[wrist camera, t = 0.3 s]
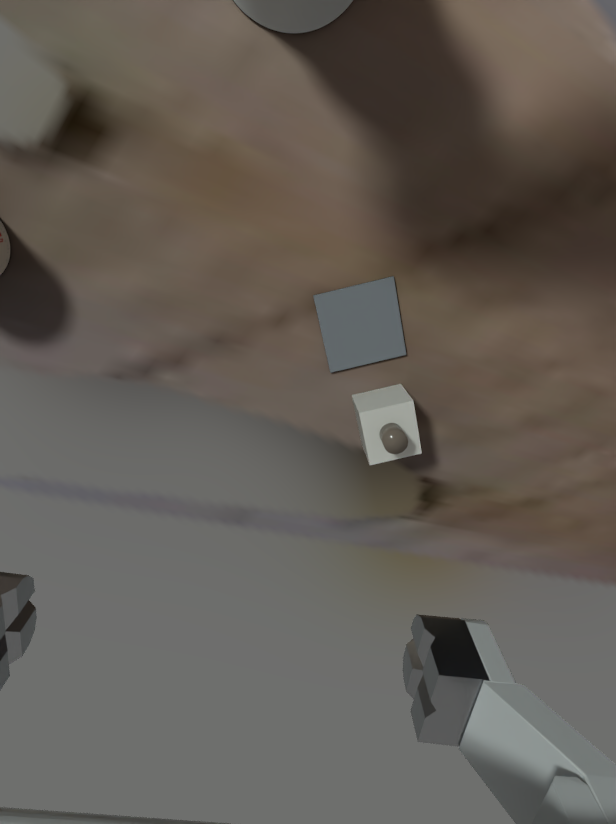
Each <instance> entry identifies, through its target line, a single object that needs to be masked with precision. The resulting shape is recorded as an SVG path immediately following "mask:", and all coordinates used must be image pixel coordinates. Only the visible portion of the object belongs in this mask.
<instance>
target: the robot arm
mask: <svg viewBox="0 0 616 824" xmlns="http://www.w3.org/2000/svg"><path fill="white" fill-rule="evenodd" d="M233 1H234V2H235V3H236V4H237V6H238V7H239V8H240V9H241V10H242V11H243V12H244V13H245V14H246V15H248V16H249V17H250V18H251V19H253V20H254V21H256V22H257V23H259V24H261V25H262V26H265V27H267V28H269V29H272V30H275V31H279V32H284V33H304V32H309V31H313V30H316V29H319V28H321V27H323V26H325V25H327V24H329V23H330V22H332V21H333V20H335V19H336V18H337V17H338V16H340V15H341V14H342V13H343V12H344V11H345V10H346V9H347V8H348V6H349V5H350V4H351V3H352V1H353V0H233ZM34 591H35V589H34V580H33V578H32V577H30V576H29V575H21V574H13V573H5V572H0V690H1V689H2V687H3V685H4V684H5V682H6V681H7V679H8V678H9V676H10V672H9V664H11V663H12V662H14V661H15V660H17V659H19V658H20V657H22V656H23V654H24V652H25V650H26V649H27V647H28V646H29V644H30V641H31V638H32V636H33V633H34V630H35V624H36V608H35V607H34V605H33V604H32V603H31V602H30V601H29V599H30V597H31V596H32V594H33V593H34ZM411 631H412V635H413V639H412V640H411V641H410V642H408V643H407V644H406V648H405V652H404V657H403V677H404V683H405V688H406V691H407V693H408V694H409V695H410V696H411V697H412V698H413V699H414V701H413V704H412V708H411V715H412V719H413V723H414V728H415V732H416V736H417V740H418V742H424V743H433V744H442V745H450V746H459V750H460V751H461V753H462V754H463V755H464V756H465V758H466V759H467V760H468V762H469V763H470V764H471V766H472V767H473V768H474V770H475V771H476V772H477V773H478V775H479V776H480V777H481V779H482V780H483V781H484V783H485V784H486V785H487V787H488V788H489V789H490V791H491V792H492V793H493V794H494V796H495V797H496V798H497V800H498V801H499V802H500V804H501V805H502V806H503V808H504V809H505V810H506V812H507V813H508V814H509V815H510V817H511V818H512V819H513V821H514V822H515V823H516V824H616V764H615V763H614V762H612V760H610V759H609V758H608V757H607V756H606V755H604V754H603V753H602V752H601V751H600V750H599V749H597V748H596V747H595V746H594V745H593V744H592V743H591V742H589V741H588V740H587V739H586V738H585V737H583V736H582V735H581V734H580V733H579V732H578V731H577V730H576V729H574V728H573V727H572V726H571V725H570V724H568V723H567V722H566V721H565V720H564V719H563V718H562V717H560V716H559V715H558V714H557V713H556V712H555V711H553V710H552V709H551V708H550V707H549V706H548V705H546V704H545V703H544V702H543V701H542V700H541V699H539V698H538V697H537V696H536V695H535V694H534V693H533V692H531V691H530V690H529V689H528V688H527V687H526V686H524V685H523V684H516V682H515V680H514V678H513V676H512V673H511V671H510V670H509V667H508V665H507V663H506V661H505V659H504V657H503V655H502V652H501V650H500V648H499V647H498V644H497V642H496V640H495V638H494V636H493V634H492V632H491V629H490V627H489V625H488V623H486V622H485V621H484V620H476V619H464V618H462V619H459V618H448V617H437V616H426V615H416V617H415V618H414V620H413V623H412V626H411ZM0 824H229V823H214V822H200V821H187V820H172V819H159V818H144V817H131V816H117V815H103V814H88V813H74V812H60V811H47V810H33V809H19V808H5V807H4V808H3V807H0Z"/></svg>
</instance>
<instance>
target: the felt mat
mask: <svg viewBox="0 0 616 824" xmlns="http://www.w3.org/2000/svg"><path fill="white" fill-rule="evenodd" d="M314 301H315V305H316V310H317V314H318V319H319V323H320V328H321V332H322V337H323V341H324V346H325V350H326V355H327V359H328V364H329V368H330V372H335V371H340V370H344V369H348V368H352V367H357V366H361V365H365V364H369V363H374V362H378V361H382V360H386V359H390V358H395V357H399V356H403V355H406V349H405V343H404V337H403V331H402V325H401V319H400V312H399V306H398V300H397V294H396V288H395V281H394V277H393V276H392V277H388V278H384V279H380V280H376V281H371V282H367V283H363V284H359V285H355V286H351V287H347V288H342V289H338V290H334V291H330V292H326V293H322V294H318V295H314Z"/></svg>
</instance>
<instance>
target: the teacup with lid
mask: <svg viewBox="0 0 616 824" xmlns="http://www.w3.org/2000/svg"><path fill="white" fill-rule="evenodd" d="M9 258H10V241H9V237H8V234H7V232H6V229H5V227H4V226H3V224H2V222H1V221H0V275H1V274H2V273H3V272H4V270H5V269H6V267H7V265H8V262H9Z"/></svg>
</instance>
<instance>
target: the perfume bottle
mask: <svg viewBox="0 0 616 824" xmlns="http://www.w3.org/2000/svg"><path fill="white" fill-rule="evenodd" d="M352 400H353V405H354V410H355V414H356V419H357V424H358V429H359V433H360V438H361V443H362V446H363V449H364V451H365V454H366V456H367V459H368V462H369V465H374V464H378V463H383V462H387V461H391V460H396V459H400V458H404V457H409V456H413V455H417V454H422V451H421V445H420V438H419V432H418V426H417V420H416V414H415V408H414V402H413V399H412V398H411V397H410V395H409V394H408V393H407V391H406V390H405V389H404V388H403V386H402V385H401V384H398V385H394V386H389V387H385V388H381V389H377V390H372V391H368V392H364V393H359V394H355V395H352Z"/></svg>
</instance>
